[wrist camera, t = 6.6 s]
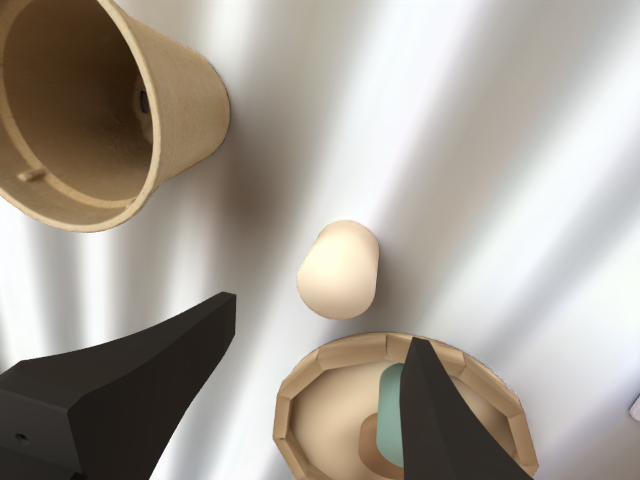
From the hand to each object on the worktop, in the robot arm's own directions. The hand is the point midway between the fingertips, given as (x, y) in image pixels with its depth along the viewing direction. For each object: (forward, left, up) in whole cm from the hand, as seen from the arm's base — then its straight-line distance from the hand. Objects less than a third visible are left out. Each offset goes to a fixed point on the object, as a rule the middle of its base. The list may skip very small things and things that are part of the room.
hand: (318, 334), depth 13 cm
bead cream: (0, 0, -8) cm, 8 cm away
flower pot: (+11, -7, -8) cm, 16 cm away
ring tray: (-6, +14, -8) cm, 17 cm away
